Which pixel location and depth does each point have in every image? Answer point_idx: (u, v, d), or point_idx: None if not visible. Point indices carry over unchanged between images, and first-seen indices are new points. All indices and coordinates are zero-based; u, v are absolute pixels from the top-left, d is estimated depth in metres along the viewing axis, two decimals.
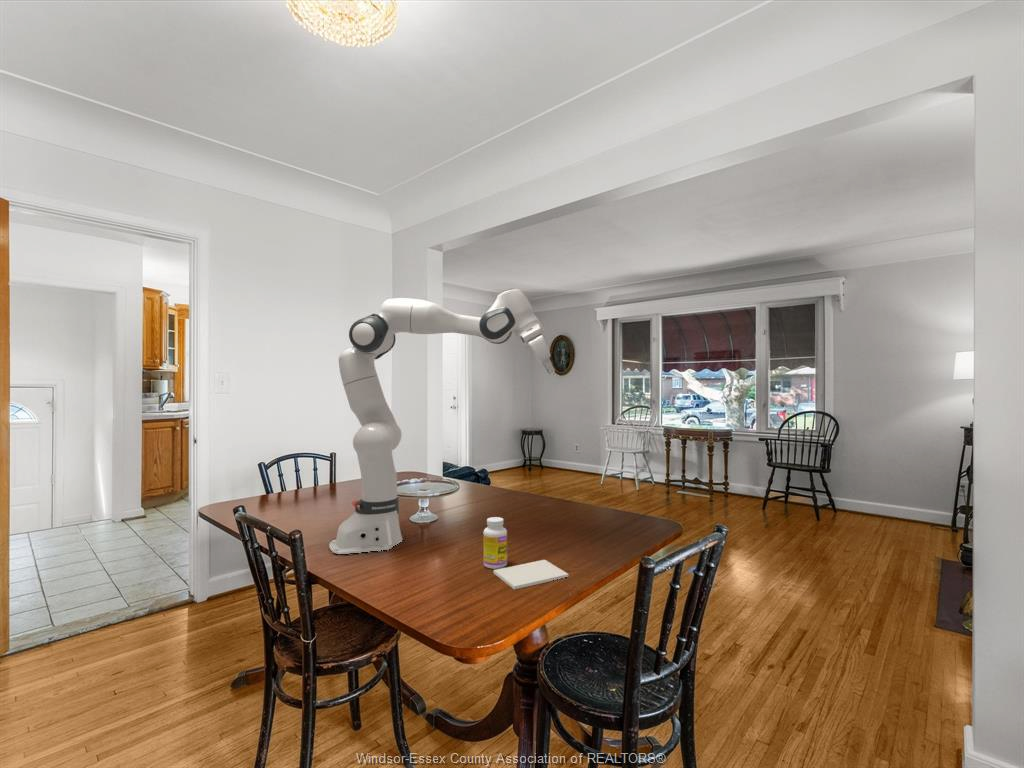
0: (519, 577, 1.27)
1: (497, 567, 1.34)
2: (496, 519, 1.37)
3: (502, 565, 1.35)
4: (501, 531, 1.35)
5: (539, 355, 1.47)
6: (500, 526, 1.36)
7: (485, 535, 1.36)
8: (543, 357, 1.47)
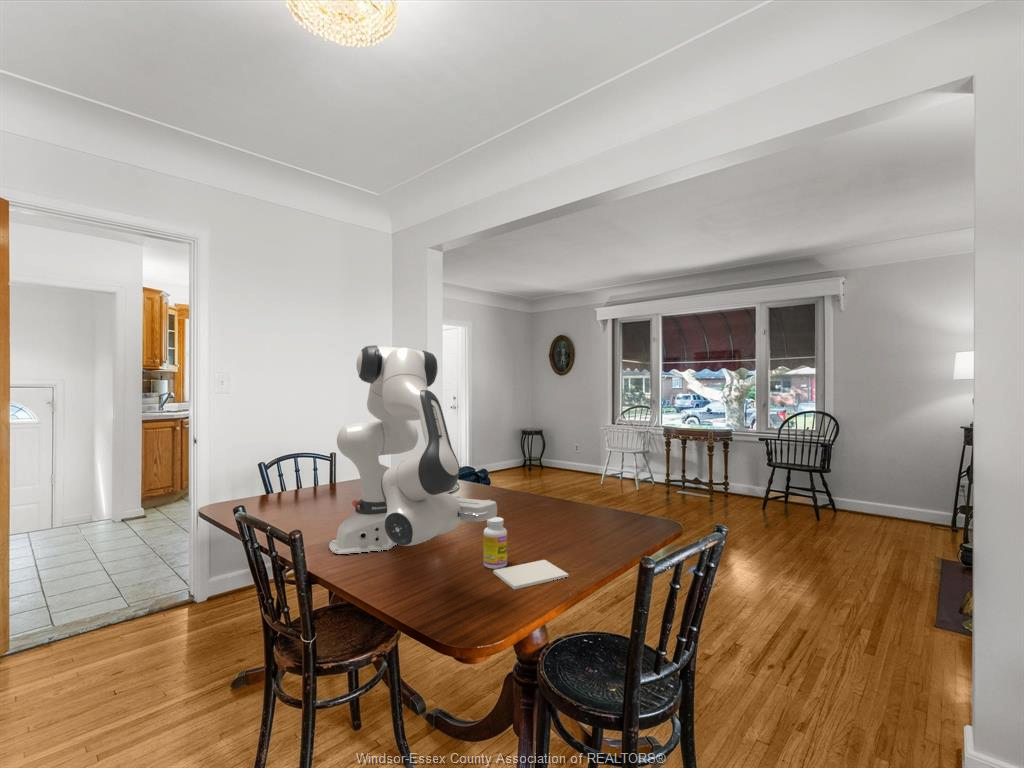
0: (519, 577, 1.27)
1: (497, 567, 1.34)
2: (496, 519, 1.37)
3: (502, 565, 1.35)
4: (501, 531, 1.35)
5: None
6: (500, 526, 1.36)
7: (485, 535, 1.36)
8: None
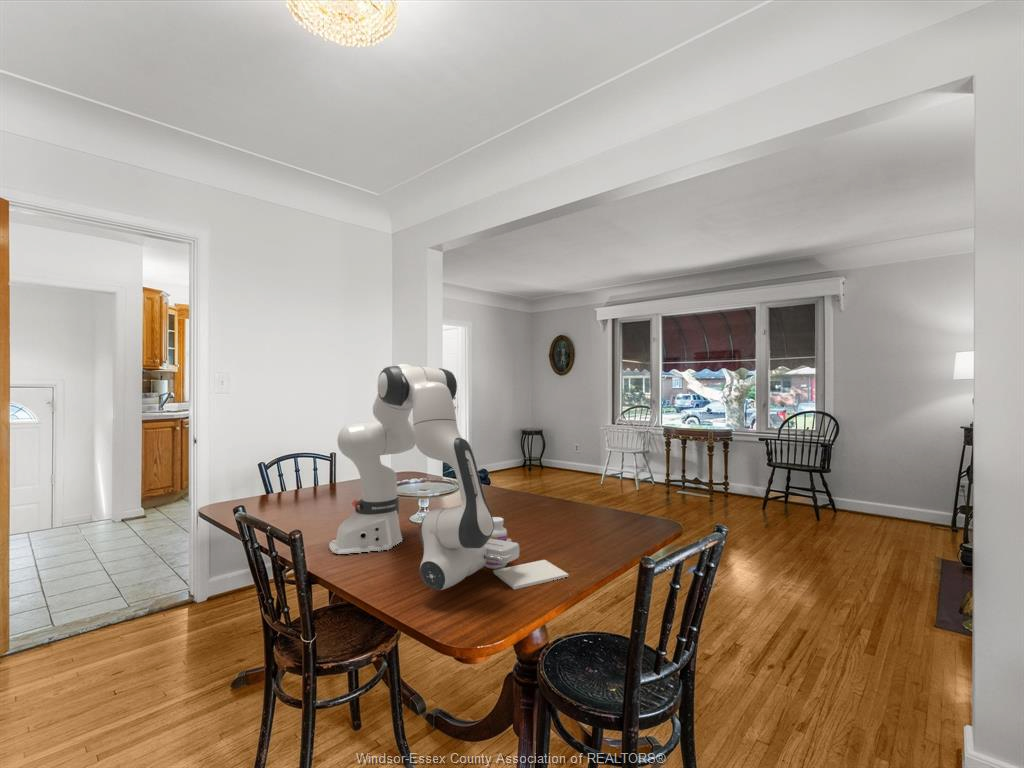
0: (519, 577, 1.27)
1: (497, 567, 1.34)
2: (496, 519, 1.37)
3: (502, 565, 1.35)
4: (501, 531, 1.35)
5: None
6: (500, 526, 1.36)
7: None
8: None
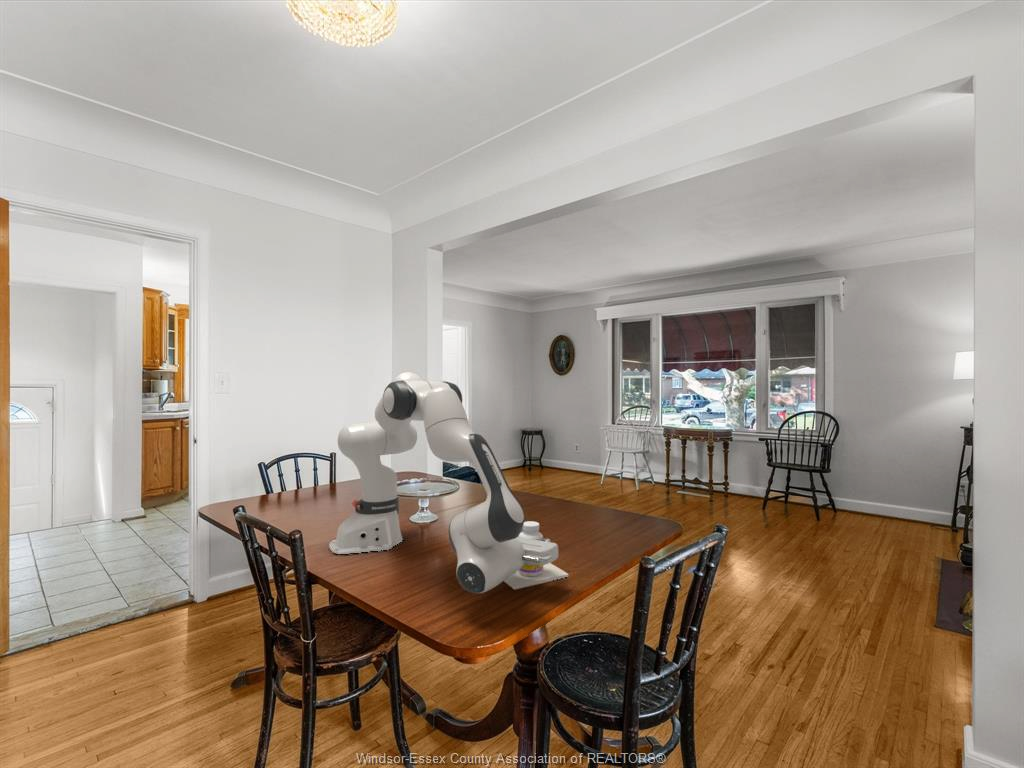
0: (519, 577, 1.27)
1: (534, 574, 1.27)
2: (532, 523, 1.30)
3: (539, 572, 1.27)
4: (538, 536, 1.28)
5: None
6: (536, 531, 1.28)
7: None
8: None
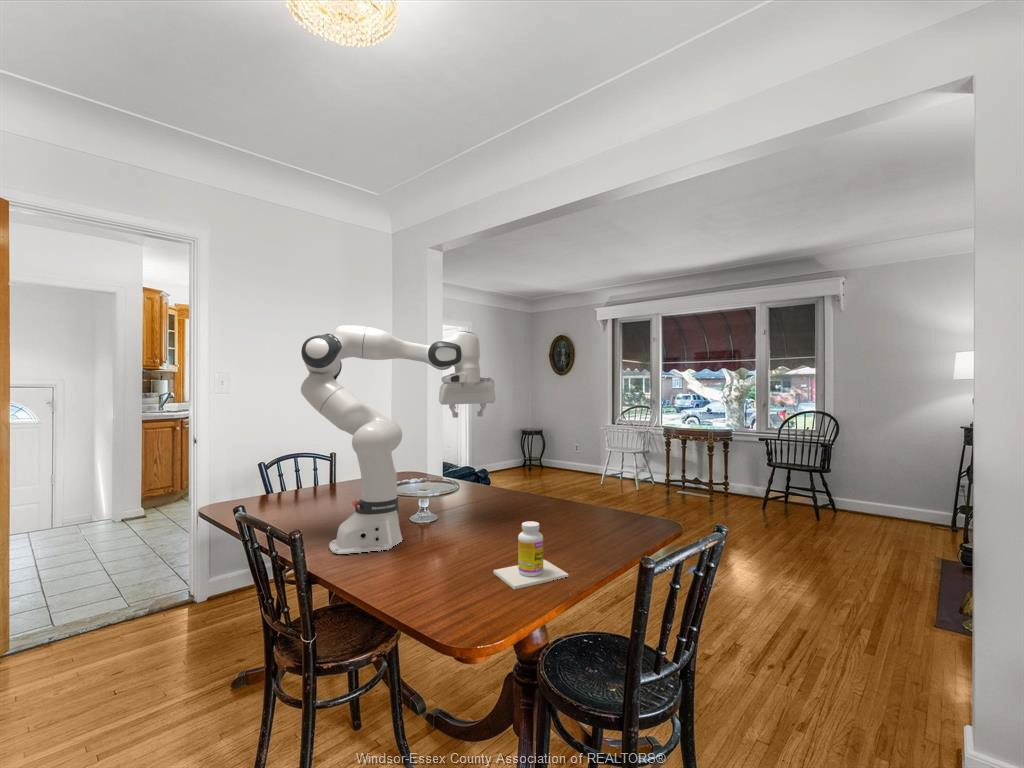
0: (519, 577, 1.27)
1: (534, 574, 1.27)
2: (532, 523, 1.30)
3: (539, 572, 1.27)
4: (538, 536, 1.28)
5: (439, 399, 1.69)
6: (536, 531, 1.28)
7: (520, 540, 1.28)
8: (440, 402, 1.68)
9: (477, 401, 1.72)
